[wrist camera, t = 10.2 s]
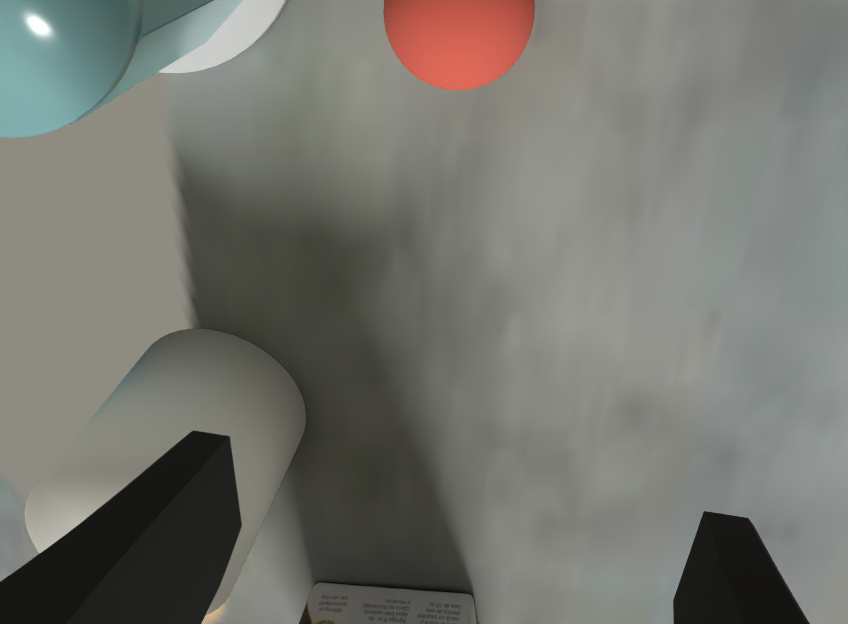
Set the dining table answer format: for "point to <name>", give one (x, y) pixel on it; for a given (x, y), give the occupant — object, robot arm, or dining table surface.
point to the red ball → (458, 38)
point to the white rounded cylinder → (179, 434)
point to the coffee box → (385, 606)
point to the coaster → (231, 36)
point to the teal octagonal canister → (90, 53)
